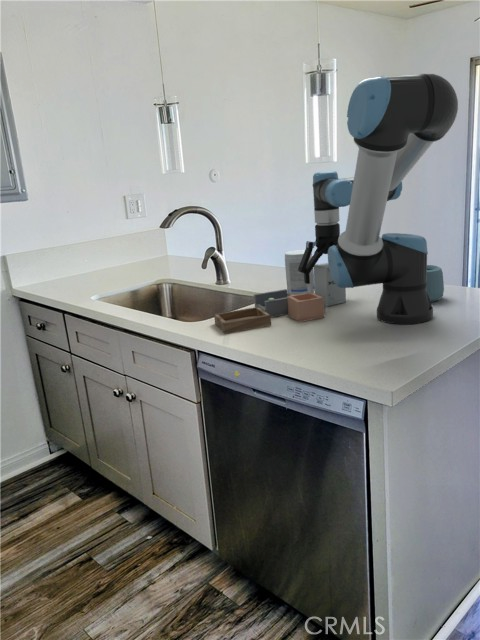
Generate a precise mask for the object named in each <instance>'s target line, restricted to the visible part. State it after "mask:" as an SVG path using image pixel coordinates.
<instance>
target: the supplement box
mask: <svg viewBox="0 0 480 640" xmlns="http://www.w3.org/2000/svg"><path fill="white" fill-rule="evenodd" d="M313 272H314V288H315V291H314V293H315V294H317V295H319V296H321V297H323V301H324V307H329V306H333V305H334V306H335V305H338V304H344V303H346V302H347V296H346V295H347V293H346V291H347V288H340V287H338V286H337V285H336V284H335V282H334V281H333V278H332V276H331V273H330V269H329V264H328V261H327V262H321V263H316V264H315V266H314V267H313Z"/></svg>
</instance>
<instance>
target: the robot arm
mask: <svg viewBox="0 0 480 640" xmlns="http://www.w3.org/2000/svg"><path fill="white" fill-rule="evenodd" d="M351 93H352V94H351V96H350V99H349V102H348V105H347V112H346V113H347V114H346V118H347V120H346V121H347V130H348V132H349V133H348V134H349V135H350V136H351V137H353V143H354V144H355V145H356V146H357V147H358V151H357V152H358V153H357V159H356V165H355V171H354V176H353V177H346V178H345V177H344V178H339V175H338V172H337V171H335V170H334V171H333V170H331V171H328V170H327V171H319V172H315V173H313V175H312V188H313V189H312V191H313V192H312V193H313V209H314V211H313V212H314V213H313V214H314V223H315V225H314V230H315V231H314V232H315V233H314V234H315V235H314V236H315V241H310V240H307V241H306V243H305V249H304V250H305V252H304V255H303V257H302V260H301V263H300V265H299V268H298V271H299V272H301V273H304V282H305V283H306V284H307V291H308V293H310V292H312V293H314V292H313V278H312V273H310V272H311V270H312V269H313V270H314V266H315V264H318V263H317V262H318V261H319V259H320V258H321V257H322V256H323V255H327V262H328V264H329V269H330V273H331V276H332V278H333V281H334V282H335V284H336V285H337V286H338V287H340V288H346V289H347V288H348V289H354V288H358V287H364V286H371V285H380V284H382V291H381V292H382V293H381V295H380V298H379V300H378V304H377V307H376V318H377V319H378V320H380V322H381V321H382V322H384V323H388V324H397V325H412V324H413V325H414V324H421V323H425V322H428V321H431V320H432V319H433V318H434V307H433V305H432V302H431V301H430V298H429V295H428V292H427V265H428V254H429V253H428V243H427V240H426V238H425V237H424V236H422V235H417V234H412V233H411V234H410V233H396V232H395V233H394V232H393V233H391V232H387V233H383V234H382V235H381V236H380V234H381V230H382V224H383V221H384V217H385V216H384V215H385V212H386V207H387V202H389V201H393V200H397V199H398V198H400V196H401V194H402V190H403V180H404V179H405V177H406V176H407V175H408V174H409V173H410V171H411V170H412V169H413V168H414V166H415V165H416V164H417V163H418V162H419V160H420V159H421V158H422V156H424V155H425V153H426V152H427V150H429V148H430V147H431V146H432V144H433V143H434V142H438V141H440V140H441V139H442V138H444V137H445V136H446V134H447V133H448V132H449V131H450V129H452V127H453V125H454V123H455V121H456V119H457V114H458V110H459V100H458V96H457V93H456V90H455V88H454V87H453V85H452V84H451V83H450V82H449V81H448V80H447V79H446V78H444V77H443V76H441V75H440V74H439V75H438V74H435V73H429V72H427V73H419V74H407V75H394V76H391V75H390V76H385V75H381V76H377V77H372V78H366V79H363V80H362V81H360V82H359V83H358V84H357V85H356V86H355V88H354V89H353V91H352V92H351ZM342 207H343V208H344V207H348V213H347V219H346V227H345V230H344V231H343V232H340V231H341V229H340V226H341V225H340V223H339V222H340V208H342ZM315 247H316V249H315V250H314V252H313V249H314V248H315ZM311 253H312V258H311V259H310V261H309V258H310V256H311ZM308 261H309V262H308ZM307 263H308V264H307Z"/></svg>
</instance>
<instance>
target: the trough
mask: <svg viewBox="0 0 480 640" xmlns="http://www.w3.org/2000/svg"><path fill="white" fill-rule="evenodd" d="M213 318H214V324H215V325H216V326H217V327H218V328H219V329H220V330H221V331H222V333H223V334H232V333H236V332H242V331H248V330H253V329H259V328H265V327H271V326H272V317H271V315H269V314H268V313H267V312H265V311H264V310H262V309H261V308H259V307H255V306H254V307H249V308H244V309H237V310H232V311H225V312H221V313H214V314H213Z"/></svg>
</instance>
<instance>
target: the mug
mask: <svg viewBox="0 0 480 640" xmlns="http://www.w3.org/2000/svg"><path fill="white" fill-rule="evenodd" d="M442 269H443V268H442V267H440V266H437V265H432V264H427V292H428V295H429V298H430V301H431V303H432V302H437V301H439V300H441V299H442V298H443V296H444V293H445V292H444V291H445V284H444V275H443V270H442Z"/></svg>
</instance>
